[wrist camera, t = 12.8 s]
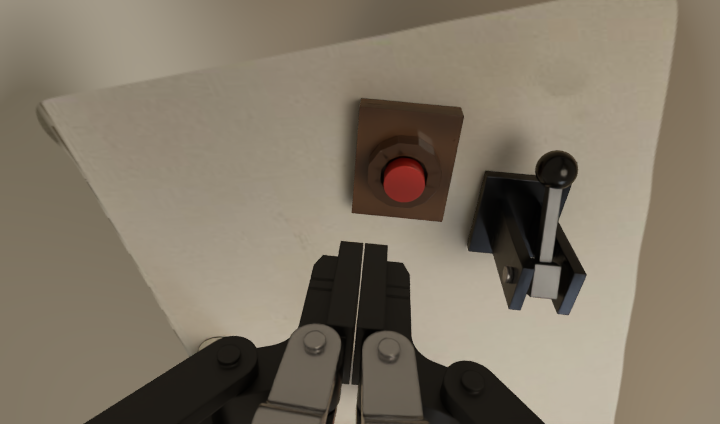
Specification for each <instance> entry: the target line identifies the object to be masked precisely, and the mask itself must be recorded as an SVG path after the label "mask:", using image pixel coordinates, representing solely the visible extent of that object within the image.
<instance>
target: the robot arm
mask: <svg viewBox="0 0 720 424" xmlns="http://www.w3.org/2000/svg"><path fill="white" fill-rule="evenodd" d="M387 250H388V245H379V244H368V243H365V251H364V260H363V270H362V280H361V289H360V299H359V309H358V318H357V328H356V339H355V350H354V361H353V372H352V384H353V385H358V394H357V405H356V424H545V423H544V422H543V421H542V420H541V419H540V418H539V417H538V416H537V415H536V414H534V413H533V412H532V411H531V410H530V409H529V408H528V407H527V406H526V405H525V404H524V403H523V402H522V401H521V400H520V399H519V398H518V397H517V396H516V395H515V394H514V393H513V392H512V391H511V390H510V389H509V388H507V387H506V386H505V385H504V384H503V383H502V382H501V381H500V380H499V379H498V378H497V377H496V376H495V375H494V374H493V373H492V372H491V371H490V370H488V369H487V368H486V367H484V366H483V365H481V364H478V363H475V362H472V361H459V362H455V363H453V364H451V365H450V366H449V367H445V366H443V365H440V364H438V363H435V362H433V361H431V360H429V359H427V358H426V357H424V356H423V355H422V354H421V353H420V352H419V351H418V350H417V349H416V347H415V346H414V344H413V341H412V336H411V306H410V274H409V273H408V271H407V269H406V268H405V266H404V264H403V263H399V262H389V261H387ZM362 253H363V243H357V242H347V241H341V243H340V249H339V254H338V257H337V256H327V255H323V256H322V257H321V258H320V259H319V260H318V261H317V262H316V263H315V264H314V266H313V270H312V275H311V279H310V283H309V287H308V291H307V295H306V299H305V303H304V307H303V311H302V315H301V319H300V323H299V326H298V329H296V330H295V331H294V332H293V333H292V335H291V336H290V338H289V339H287V340H286V341H284V342H282V343H279V344H276V345H272V346H266V347H260V348H256V347H255V345H254V344H253V343H252V342H251V341H250V340H248V339H246V338H244V337H239V336H229V337H224V338H221V339H218V340H216V341H214V342H213V343H211V344H210V345H208V346H206V347H205V348H203V349H202V350H200V351H199V352H197V353H195V354H194V355H192V356H191V357H189V358H187V359H186V360H184V361H183V362H181V363H179V364H178V365H176V366H175V367H173V368H172V369H170V370H169V371H167V372H166V373H164V374H162V375H160V376H159V377H157V378H156V379H154V380H153V381H151V382H150V383H148V384H146V385H145V386H143V387H142V388H140V389H138V390H137V391H135V392H134V393H132V394H130V395H129V396H127V397H125V398H124V399H122V400H121V401H119V402H118V403H116V404H115V405H113V406H111V407H110V408H108V409H106V410H105V411H103V412H102V413H100V414H99V415H97V416H95V417H94V418H93V419H91V420H89V421H87V422H86V423H84V424H334V421H335V417H336V412H337V405H338V403H339V400H340V395H341V387H342V384H349V380H350V371H351V361H352V352H353V343H354V333H355V324H356V315H357V305H358V296H359V286H360V275H361V264H362Z"/></svg>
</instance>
